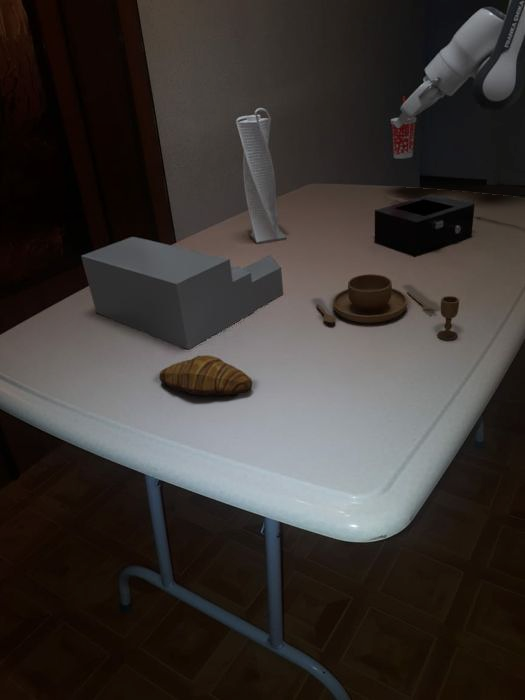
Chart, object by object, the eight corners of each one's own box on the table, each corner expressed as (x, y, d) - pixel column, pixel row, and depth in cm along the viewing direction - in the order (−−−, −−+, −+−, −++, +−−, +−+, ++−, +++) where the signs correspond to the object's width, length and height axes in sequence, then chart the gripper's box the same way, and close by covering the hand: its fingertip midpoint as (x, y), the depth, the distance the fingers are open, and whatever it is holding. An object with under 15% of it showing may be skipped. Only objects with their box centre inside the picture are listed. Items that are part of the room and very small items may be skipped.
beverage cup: (407, 152, 144) (408, 94, 137) (420, 156, 139) (422, 95, 132) (386, 156, 143) (386, 97, 136) (398, 160, 137) (399, 98, 131)
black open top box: (428, 225, 126) (430, 194, 122) (476, 238, 115) (479, 205, 112) (374, 242, 119) (374, 210, 116) (419, 258, 109) (421, 223, 105)
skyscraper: (288, 240, 125) (278, 106, 111) (253, 246, 124) (239, 111, 110) (278, 230, 132) (267, 103, 119) (245, 236, 131) (230, 108, 117)
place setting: (405, 287, 98) (406, 255, 95) (464, 338, 81) (468, 301, 78) (309, 304, 95) (307, 272, 92) (349, 360, 78) (348, 323, 75)
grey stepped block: (284, 294, 100) (279, 235, 94) (188, 349, 85) (176, 283, 80) (191, 269, 115) (182, 218, 110) (96, 313, 101) (81, 255, 95)
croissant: (150, 397, 75) (142, 365, 72) (173, 370, 80) (166, 340, 78) (243, 409, 70) (238, 375, 68) (260, 380, 76) (257, 348, 73)
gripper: (443, 92, 120) (398, 140, 129) (461, 81, 136) (419, 125, 145) (423, 71, 120) (379, 121, 129) (443, 62, 135) (402, 107, 145)
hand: (400, 123), depth 137 cm, fingers closed on beverage cup, 6 cm apart
